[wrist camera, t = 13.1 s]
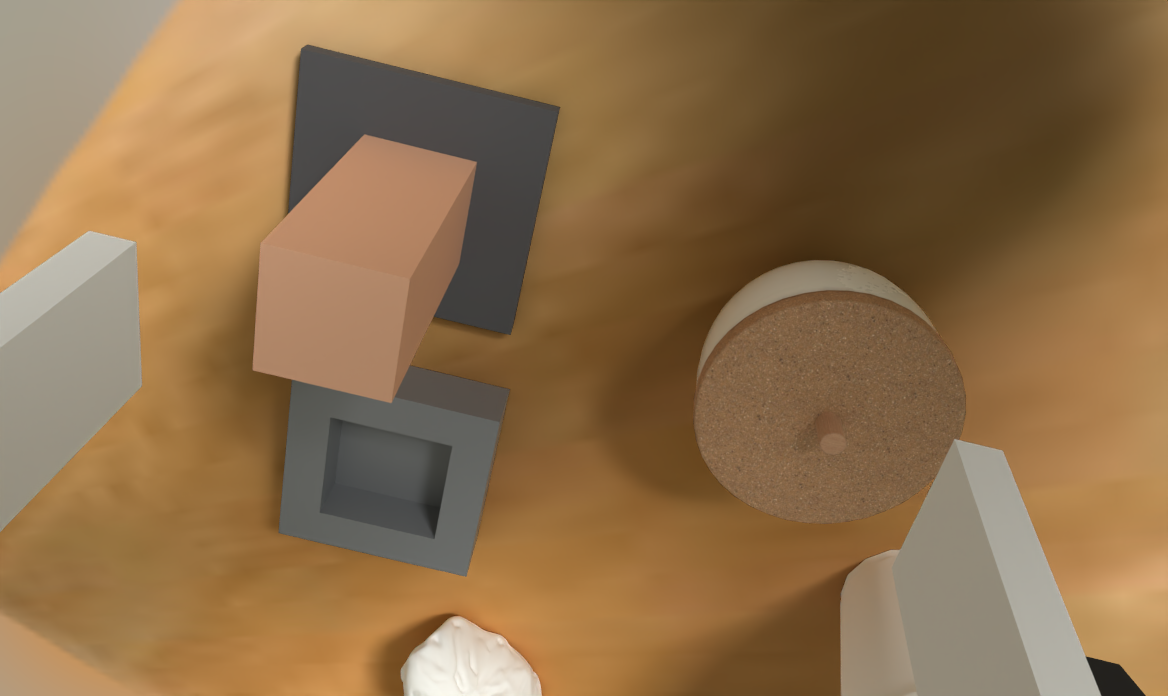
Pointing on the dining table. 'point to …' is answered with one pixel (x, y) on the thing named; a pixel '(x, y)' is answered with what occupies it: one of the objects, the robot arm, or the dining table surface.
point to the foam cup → (873, 632)
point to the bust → (467, 664)
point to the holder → (393, 468)
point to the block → (361, 268)
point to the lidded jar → (825, 394)
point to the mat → (445, 125)
